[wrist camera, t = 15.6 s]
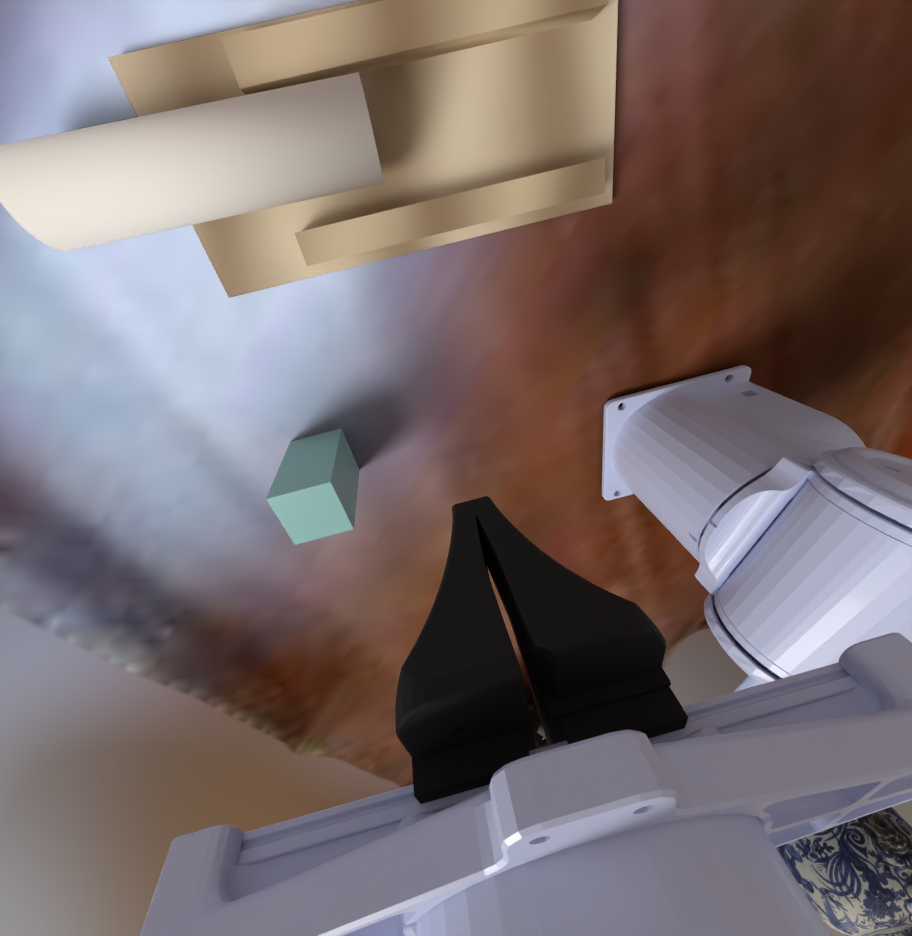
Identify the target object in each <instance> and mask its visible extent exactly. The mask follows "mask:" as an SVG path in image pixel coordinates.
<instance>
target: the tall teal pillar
mask: <svg viewBox="0 0 912 936" xmlns="http://www.w3.org/2000/svg"><path fill="white" fill-rule="evenodd" d="M358 478H359V468H358V466H357V463H356V461H355V459H354V456H353V454H352V452H351V449H350V447H349V445H348V442H347V440H346V438H345V435H344V433H343V431H342V428H340V429H336V430H332V431H328V432H325V433H321V434H317V435H313V436H309V437H305V438H302V439H298V440H294V441H291V442H290V444H289V446H288V449H287V451H286V453H285V456H284V458H283V460H282V463H281V465H280V467H279V470H278V472H277V474H276V477H275V479H274V481H273V484H272V486H271V488H270V491H269V493H268V496H267V498H266V500H267V502H268V503H269V505H270V506H271V508H272V509H273V511H274V513H275V514H276V516H277V517H278V519H279V520H280V522H281V524H282V525H283V527H284V528H285V530H286V531H287V533H288V534H289V536H290V538H291V539H292V541H293V542H294V544H295V545H296V544H300V543H304V542H308V541H311V540H315V539H319V538H322V537H326V536H330V535H334V534H337V533H341V532H345V531H348V530H352V529H354V521H355V510H356V500H357V489H358Z"/></svg>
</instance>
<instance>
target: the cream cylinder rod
mask: <svg viewBox="0 0 912 936" xmlns="http://www.w3.org/2000/svg"><path fill="white" fill-rule="evenodd" d="M383 183H384V181H383V176H382V171H381V166H380V161H379V157H378V152H377V148H376V143H375V139H374V134H373V130H372V125H371V121H370V117H369V112H368V108H367V104H366V100H365V96H364V92H363V87H362V84H361V80H360V76H359V73H358V72H356V73H351V74H347V75H342V76H337V77H332V78H327V79H322V80H317V81H312V82H307V83H302V84H298V85H293V86H288V87H283V88H278V89H273V90H268V91H263V92H258V93H253V94H249V95H244V96H239V97H234V98H229V99H224V100H219V101H214V102H209V103H204V104H199V105H195V106H190V107H185V108H180V109H175V110H170V111H165V112H160V113H155V114H150V115H146V116H141V117H136V118H131V119H126V120H121V121H116V122H111V123H106V124H101V125H96V126H92V127H87V128H82V129H77V130H72V131H67V132H62V133H57V134H52V135H47V136H43V137H38V138H33V139H28V140H23V141H18V142H13V143H8V144H3V145H0V202H1V204H2V205H3V206H4V207H5V209H6V210H7V211H8V212H9V213H10V215H11V216H12V217H13V218H14V219H15V220H16V221H17V222H18V223H19V224H20V225H21V226H22V227H23V228H24V229H25V230H27V231H28V232H29V233H30V234H31V235H33V236H34V237H35V238H37V239H38V240H39V241H41V242H43V243H44V244H46V245H48V246H50V247H52V248H54V249H57V250H60V251H73V250H78V249H82V248H87V247H92V246H96V245H101V244H105V243H110V242H115V241H119V240H124V239H129V238H133V237H138V236H142V235H147V234H152V233H156V232H161V231H166V230H170V229H175V228H180V227H184V226H189V225H193V224H198V223H203V222H207V221H212V220H217V219H221V218H226V217H230V216H235V215H240V214H244V213H249V212H254V211H258V210H263V209H268V208H272V207H277V206H281V205H286V204H291V203H295V202H300V201H305V200H309V199H314V198H318V197H323V196H328V195H332V194H337V193H342V192H346V191H351V190H355V189H360V188H365V187H369V186H374V185H379V184H383Z"/></svg>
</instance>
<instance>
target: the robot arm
mask: <svg viewBox="0 0 912 936" xmlns="http://www.w3.org/2000/svg"><path fill="white" fill-rule="evenodd" d="M750 375H751V368H750V367H748V366H745V365H741V366H737V367H733V368H729V369H726V370H722V371H718V372H714V373H710V374H706V375H703V376H699V377H695V378H691V379H687V380H683V381H680V382H676V383H672V384H668V385H664V386H661V387H657V388H653V389H649V390H645V391H641V392H638V393H634V394H630V395H626V396H622V397H618V398H615V399H611V400H609V401H608V402H607V403H606V404H605V406H604V427H603V465H602V496H603V498H604V499H605V500H612V499H616V498H620V497H624V496H627V495H631V494H635V495H636V496H637V497H638V498H639V499H640V500H641V502H642V503H643V504H644V505H645V506H646V507H647V508H648V509H649V510H650V511H651V512H652V513H653V514H654V515H655V516H656V517H657V518H658V519H659V521H660V522H661V523H662V524H663V525H664V526H665V527H666V528H667V529H668V530H669V531H670V532H671V533H672V534H673V535H674V536H675V537H676V538H677V540H678V541H679V542H680V543H681V544H682V545H683V546H684V547H685V548H686V549H687V550H688V551H689V552H690V553H691V554H692V555H693V556H694V557H695V559H696V560H697V561H698V562H699V563H700V566H699V568H698V571H697V572H696V574H695V577H696V578H697V579H698V580H699V582H700V583H701V584H702V585H703V586H704V587H705V588H706V589H707V590H708V592H709V593H710V594H709V595H708V596H707V598H706V599H705V603H704V613H705V617H706V620H707V623H708V625H709V627H710V629H711V631H712V633H713V634H714V636H715V637H716V639H717V640H718V641H719V643H720V644H721V646H722V648H723V649H724V650H725V651H726V653H727V654H728V655H729V656H730V657H731V658H732V659H733V661H734V662H735V663H736V664H737V665H738V666H739V667H740V668H742V670H744V671H745V672H746V673H747V674H748V675H749V676H751V677H752V678H753V679H754V680H756V681H757V682H758V683H760V684H761V685H758V686H754V687H751V688H747V689H744V690H740V691H737V692H733V693H730V694H726V695H723V696H719V697H716V698H712V699H709V700H705V701H702V702H698V703H695V704H691V705H688V706H685V707H682V706H681V705H680V703H679V701H678V700H677V698H676V697H675V695H674V694H673V692H672V691H671V689H670V687H669V686H670V684H671V683H670V680H669V678H668V677H667V675H666V673H665V672H664V670H663V669H662V663H663V658H664V654H665V649H666V641H665V639H664V637H663V636H662V634H661V633H660V631H659V629H658V628H657V627H656V625H655V624H654V623H653V622H652V621H651V620H650V618H649V617H648V616H647V615H646V614H645V613H644V612H643V611H642V610H641V608H640V607H639V606H638V605H637V604H635V603H633V602H631V601H628V600H626V599H624V598H621V597H619V596H617V595H615V594H612V593H610V592H608V591H606V590H604V589H602V588H600V587H598V586H596V585H594V584H592V583H590V582H589V581H587V580H585V579H584V578H582V577H580V576H579V575H577V574H575V573H573V572H572V571H570V570H568V569H567V568H565V567H564V566H562V565H561V564H559V563H558V562H556V561H555V560H553V559H552V558H551V557H549V556H548V555H547V554H545V553H544V552H543V551H541V550H540V549H539V548H538V547H536V546H535V545H534V544H533V543H532V542H531V541H529V540H528V539H527V538H526V537H525V536H524V535H523V534H522V533H520V532H519V531H518V530H517V529H516V528H515V527H514V526H513V525H512V524H511V523H510V522H509V521H508V520H507V519H506V517H505V516H504V515H503V514H502V513H501V512H500V511H499V509H498V508H497V507H496V506H495V504H494V503H493V502H492V500H491V499H490V498H489V497H487V496H485V497H482V498H478V499H474V500H470V501H467V502H463V503H459V504H455V505H454V506H453V507H452V512H453V525H452V535H451V543H450V549H449V554H448V559H447V563H446V568H445V571H444V575H443V579H442V582H441V585H440V588H439V591H438V594H437V597H436V599H435V602H434V605H433V607H432V610H431V612H430V614H429V617H428V619H427V621H426V623H425V625H424V627H423V629H422V632H421V634H420V636H419V638H418V640H417V642H416V644H415V645H414V647H413V649H412V651H411V652H410V654H409V656H408V658H407V659H406V661H405V663H404V664H403V666H402V668H401V672H400V677H399V682H398V688H397V696H396V708H395V711H396V733H397V736H398V739H399V740H400V741H401V743H402V744H403V746H404V747H405V749H406V750H407V751H408V753H409V754H410V756H411V757H412V768H413V784H412V785H409V786H405V787H402V788H398V789H395V790H391V791H388V792H385V793H381V794H377V795H374V796H371V797H367V798H364V799H360V800H356V801H353V802H349V803H346V804H343V805H339V806H336V807H332V808H329V809H325V810H322V811H319V812H315V813H311V814H308V815H304V816H301V817H297V818H294V819H290V820H287V821H284V822H280V823H276V824H273V825H269V826H266V827H262V828H259V829H255V830H252V831H249V832H245V833H243V832H242V831H241V830H240V829H239V828H237V827H235V826H232V825H219V826H214V827H210V828H207V829H203V830H200V831H196V832H193V833H189V834H186V835H182V836H179V837H177V838H175V839H174V840H173V841H172V843H171V846H170V849H169V852H168V855H167V858H166V861H165V864H164V867H163V869H162V872H161V875H160V878H159V881H158V884H157V887H156V890H155V893H154V896H153V899H152V902H151V905H150V907H149V910H148V913H147V916H146V919H145V922H144V925H143V928H142V931H141V934H140V936H832V935H831V934H830V932H829V931H828V929H827V928H826V926H825V924H824V923H823V921H822V920H821V918H820V917H819V915H818V913H817V912H816V910H815V909H814V907H813V906H812V904H811V902H810V901H809V899H808V898H807V896H806V895H805V893H804V891H803V890H802V888H801V887H800V885H799V884H798V882H797V880H796V879H795V877H794V876H793V874H792V873H791V871H790V869H789V868H788V866H787V865H786V863H785V861H784V860H783V858H782V857H781V855H780V854H779V852H778V850H777V849H776V847H778V846H781V845H784V844H787V843H790V842H792V841H795V840H798V839H801V838H804V837H807V836H809V835H812V834H815V833H818V832H821V831H823V830H826V829H829V828H832V827H835V826H838V825H840V824H843V823H846V822H849V821H852V820H854V819H857V818H860V817H863V816H866V815H869V814H872V813H875V812H877V811H880V810H883V809H886V808H889V807H892V806H895V805H898V804H901V803H904V802H907V801H910V800H912V460H911V459H908V458H905V457H902V456H898V455H895V454H891V453H888V452H884V451H880V450H875V449H870V448H866V447H865V445H864V443H863V442H862V441H861V439H860V438H859V437H858V436H857V435H856V433H855V432H854V431H853V430H851V429H850V428H849V427H848V426H847V425H845V424H844V423H843V422H841V421H840V420H838V419H836V418H834V417H832V416H830V415H827V414H825V413H823V412H820V411H818V410H815V409H813V408H811V407H808V406H806V405H803V404H801V403H799V402H796V401H794V400H792V399H789V398H787V397H784V396H782V395H780V394H777V393H775V392H772V391H770V390H768V389H765V388H763V387H761V386H758V385H756V384H753V383H751V382H749V379H750ZM727 376H728V377H727ZM726 377H727V378H726ZM621 403H623V404H622V406H621V407H620V408H618V406H619V405H620V404H621ZM616 491H617V492H616ZM615 492H616V493H615ZM487 566H488V568H487ZM488 569H489V571H490V574H491V576H492V578H493V581H494V583H495V586H496V588H497V591H498V593H499V595H500V598H501V600H502V603H503V605H504V607H505V610H506V612H507V615H508V617H509V620H510V623H511V625H512V628H513V631H514V635H515V638H516V641H517V644H518V647H519V651H520V654H521V657H522V660H523V664H524V667H525V670H526V673H527V677H528V680H529V683H530V687H531V690H532V693H533V697H534V700H535V703H536V706H537V710H538V713H539V716H540V720H541V723H542V727H543V730H544V733H545V737H546V740H547V743H548V746H545V747H541V748H538V749H536V745H535V740H534V735H533V730H532V722H531V717H530V712H529V706H528V701H527V696H526V691H525V686H524V681H523V677H522V673H521V670H520V667H519V664H518V661H517V657H516V654H515V652H514V649H513V646H512V643H511V640H510V638H509V635H508V632H507V629H506V626H505V623H504V620H503V617H502V615H501V612H500V609H499V606H498V603H497V600H496V597H495V594H494V591H493V588H492V585H491V582H490V579H489V573H488Z"/></svg>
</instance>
